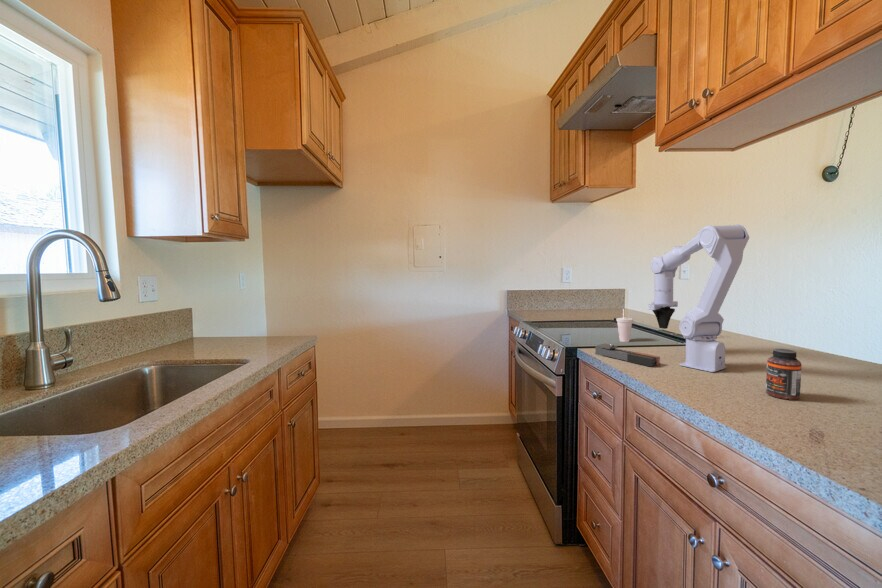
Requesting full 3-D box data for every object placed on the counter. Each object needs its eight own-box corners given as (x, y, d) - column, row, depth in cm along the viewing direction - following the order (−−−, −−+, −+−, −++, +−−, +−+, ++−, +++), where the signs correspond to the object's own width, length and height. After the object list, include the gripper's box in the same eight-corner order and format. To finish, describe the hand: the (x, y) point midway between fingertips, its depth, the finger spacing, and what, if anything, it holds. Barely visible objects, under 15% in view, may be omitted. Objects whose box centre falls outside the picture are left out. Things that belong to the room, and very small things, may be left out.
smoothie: (612, 340, 150) (612, 308, 149) (622, 338, 153) (622, 307, 152) (626, 343, 144) (626, 309, 143) (636, 341, 147) (636, 308, 146)
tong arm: (660, 364, 113) (660, 356, 112) (656, 365, 111) (656, 357, 111) (611, 353, 128) (610, 346, 128) (606, 354, 127) (606, 347, 127)
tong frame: (659, 365, 112) (659, 352, 112) (651, 367, 110) (651, 354, 110) (602, 352, 131) (602, 341, 131) (594, 354, 129) (594, 343, 128)
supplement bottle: (759, 394, 86) (761, 349, 85) (774, 390, 88) (775, 346, 87) (791, 402, 80) (793, 354, 79) (805, 398, 82) (807, 351, 81)
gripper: (663, 289, 131) (663, 324, 132) (640, 291, 124) (640, 328, 125) (684, 289, 125) (683, 327, 126) (660, 292, 118) (660, 331, 119)
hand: (663, 328), depth 125 cm, fingers closed
